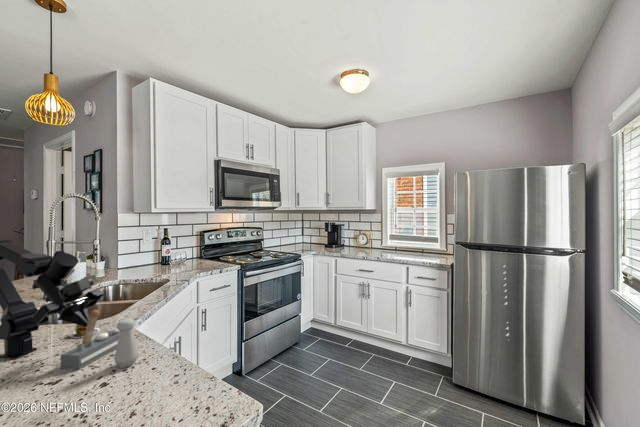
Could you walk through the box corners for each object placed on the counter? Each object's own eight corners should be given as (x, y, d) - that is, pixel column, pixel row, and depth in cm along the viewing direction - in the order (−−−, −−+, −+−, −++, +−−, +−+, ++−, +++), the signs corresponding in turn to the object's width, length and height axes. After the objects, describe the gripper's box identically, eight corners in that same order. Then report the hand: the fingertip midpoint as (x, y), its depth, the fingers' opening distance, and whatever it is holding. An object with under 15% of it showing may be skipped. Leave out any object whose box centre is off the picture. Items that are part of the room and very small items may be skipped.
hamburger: (108, 334, 114) (108, 319, 114) (67, 345, 105) (67, 329, 105) (100, 326, 122) (100, 313, 122) (61, 336, 113) (61, 321, 113)
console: (60, 368, 87) (60, 349, 87) (112, 342, 105) (111, 325, 105) (79, 369, 87) (79, 350, 87) (128, 342, 104) (127, 326, 104)
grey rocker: (107, 333, 102) (107, 331, 102) (111, 331, 103) (111, 329, 103) (115, 332, 101) (115, 329, 101) (120, 329, 103) (119, 327, 103)
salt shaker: (126, 370, 86) (125, 324, 85) (109, 368, 87) (108, 323, 87) (142, 360, 91) (141, 317, 91) (126, 359, 92) (125, 316, 92)
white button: (93, 340, 97) (93, 336, 96) (102, 336, 100) (102, 332, 100) (102, 340, 96) (102, 336, 96) (110, 336, 99) (110, 332, 99)
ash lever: (78, 345, 91) (88, 310, 90) (85, 341, 93) (95, 307, 93) (85, 348, 91) (95, 313, 90) (92, 344, 93) (102, 310, 92)
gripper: (39, 276, 83) (76, 318, 82) (98, 264, 102) (129, 298, 100) (16, 305, 84) (51, 346, 83) (78, 288, 103) (108, 321, 101)
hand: (89, 325), depth 92 cm, fingers closed, pressing on ash lever
